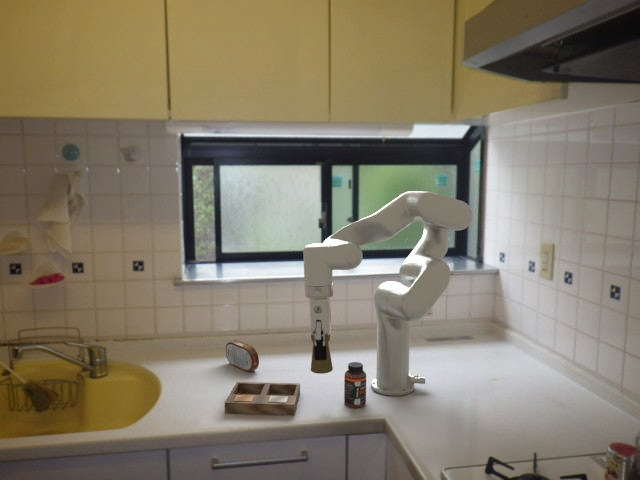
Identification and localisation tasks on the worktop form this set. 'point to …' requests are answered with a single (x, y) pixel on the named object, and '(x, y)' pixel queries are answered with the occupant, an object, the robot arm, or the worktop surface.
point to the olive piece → (321, 365)
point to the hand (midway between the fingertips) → (321, 355)
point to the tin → (242, 355)
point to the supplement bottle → (355, 385)
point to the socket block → (263, 398)
